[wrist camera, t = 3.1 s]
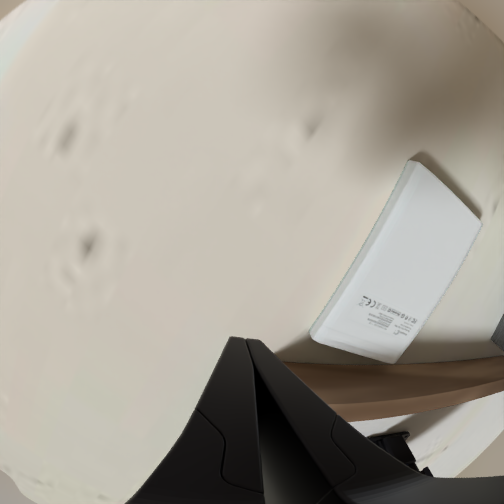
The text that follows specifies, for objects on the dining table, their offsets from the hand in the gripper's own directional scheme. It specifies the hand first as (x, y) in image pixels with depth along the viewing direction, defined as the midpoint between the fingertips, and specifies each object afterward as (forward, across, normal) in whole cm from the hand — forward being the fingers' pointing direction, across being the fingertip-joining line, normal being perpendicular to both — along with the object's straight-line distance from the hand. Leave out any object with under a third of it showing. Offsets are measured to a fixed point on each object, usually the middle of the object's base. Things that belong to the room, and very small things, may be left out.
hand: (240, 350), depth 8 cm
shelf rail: (+9, -19, +8) cm, 23 cm away
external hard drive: (+9, -12, 0) cm, 15 cm away
